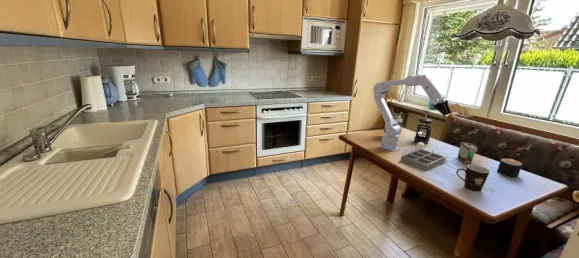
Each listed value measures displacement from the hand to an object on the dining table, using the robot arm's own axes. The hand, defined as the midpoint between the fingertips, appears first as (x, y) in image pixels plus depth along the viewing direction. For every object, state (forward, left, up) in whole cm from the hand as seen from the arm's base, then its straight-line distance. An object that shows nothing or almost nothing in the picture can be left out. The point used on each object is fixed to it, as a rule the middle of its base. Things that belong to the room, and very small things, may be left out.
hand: (447, 114), depth 133 cm
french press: (-23, +29, -29) cm, 47 cm away
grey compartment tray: (-5, -5, -29) cm, 29 cm away
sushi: (+28, +19, -29) cm, 44 cm away
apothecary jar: (-40, +18, -29) cm, 53 cm away
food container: (+9, +19, -29) cm, 35 cm away
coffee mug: (+22, -16, -29) cm, 39 cm away
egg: (-15, +11, -29) cm, 34 cm away
